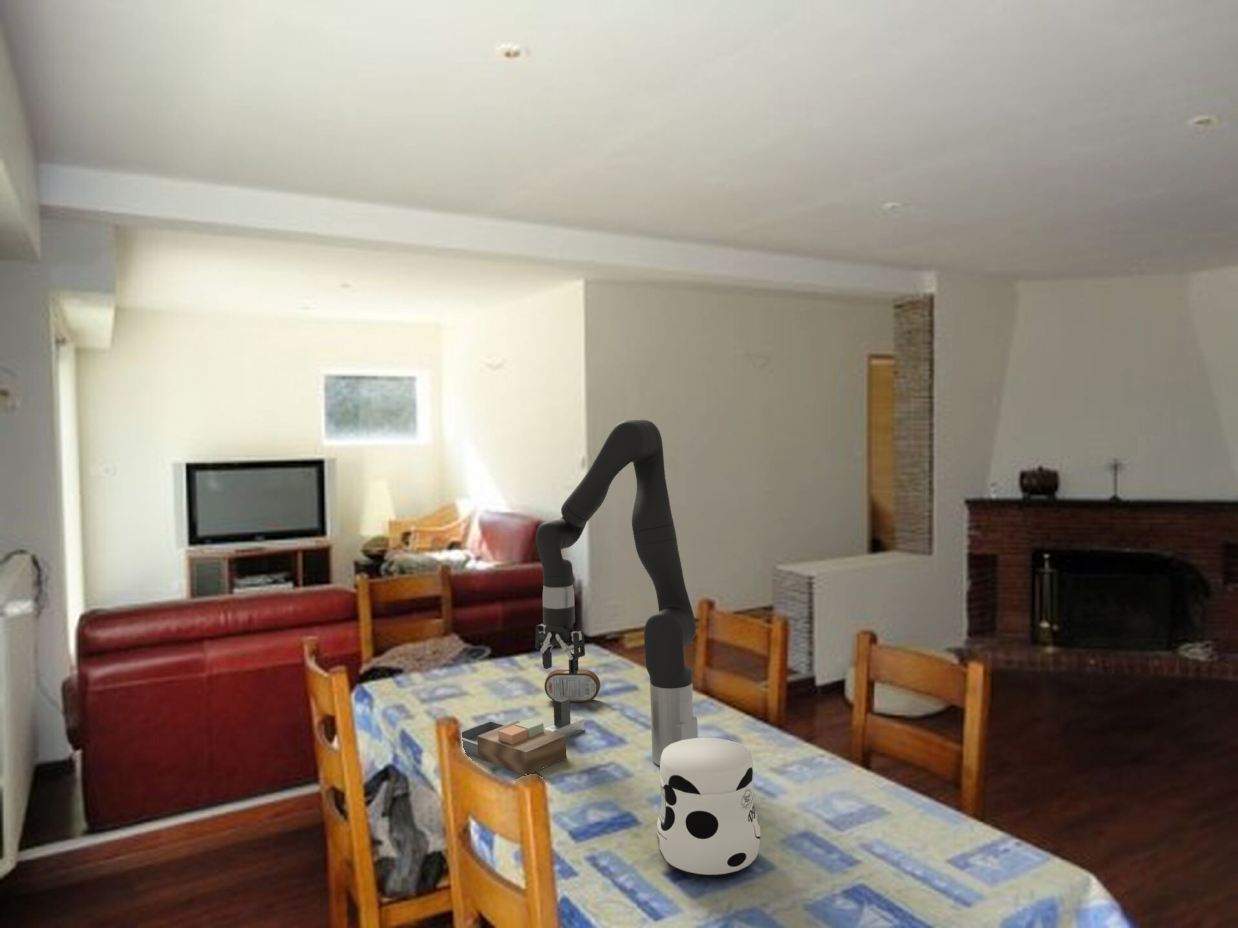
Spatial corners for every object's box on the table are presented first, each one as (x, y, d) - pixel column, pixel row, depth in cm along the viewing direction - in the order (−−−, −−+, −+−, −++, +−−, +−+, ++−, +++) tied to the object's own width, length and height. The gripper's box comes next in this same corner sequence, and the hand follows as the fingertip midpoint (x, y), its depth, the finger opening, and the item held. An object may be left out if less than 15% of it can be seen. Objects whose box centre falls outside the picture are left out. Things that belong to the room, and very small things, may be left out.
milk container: (782, 859, 139) (779, 753, 138) (712, 900, 128) (709, 785, 127) (706, 824, 152) (703, 727, 151) (636, 858, 141) (633, 754, 140)
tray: (519, 740, 196) (518, 728, 196) (478, 757, 187) (477, 744, 187) (491, 731, 203) (491, 719, 203) (450, 747, 193) (449, 734, 193)
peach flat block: (527, 738, 184) (527, 729, 184) (512, 744, 181) (511, 735, 181) (513, 733, 187) (513, 725, 187) (498, 739, 184) (498, 730, 184)
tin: (600, 699, 225) (599, 668, 225) (599, 703, 222) (598, 672, 222) (546, 699, 227) (545, 668, 226) (543, 703, 223) (542, 672, 223)
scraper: (584, 730, 202) (583, 693, 202) (549, 745, 193) (548, 707, 193) (575, 727, 204) (574, 691, 204) (540, 742, 195) (539, 704, 195)
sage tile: (543, 731, 188) (543, 722, 188) (529, 737, 185) (528, 728, 184) (529, 727, 191) (529, 718, 191) (515, 733, 187) (515, 724, 187)
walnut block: (566, 757, 185) (565, 735, 185) (526, 775, 176) (526, 752, 176) (517, 741, 196) (517, 720, 196) (478, 757, 187) (477, 735, 186)
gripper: (591, 604, 196) (592, 672, 196) (548, 597, 205) (550, 662, 206) (569, 610, 190) (570, 680, 191) (526, 602, 199) (528, 669, 200)
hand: (560, 671), depth 198 cm, fingers open, 8 cm apart
